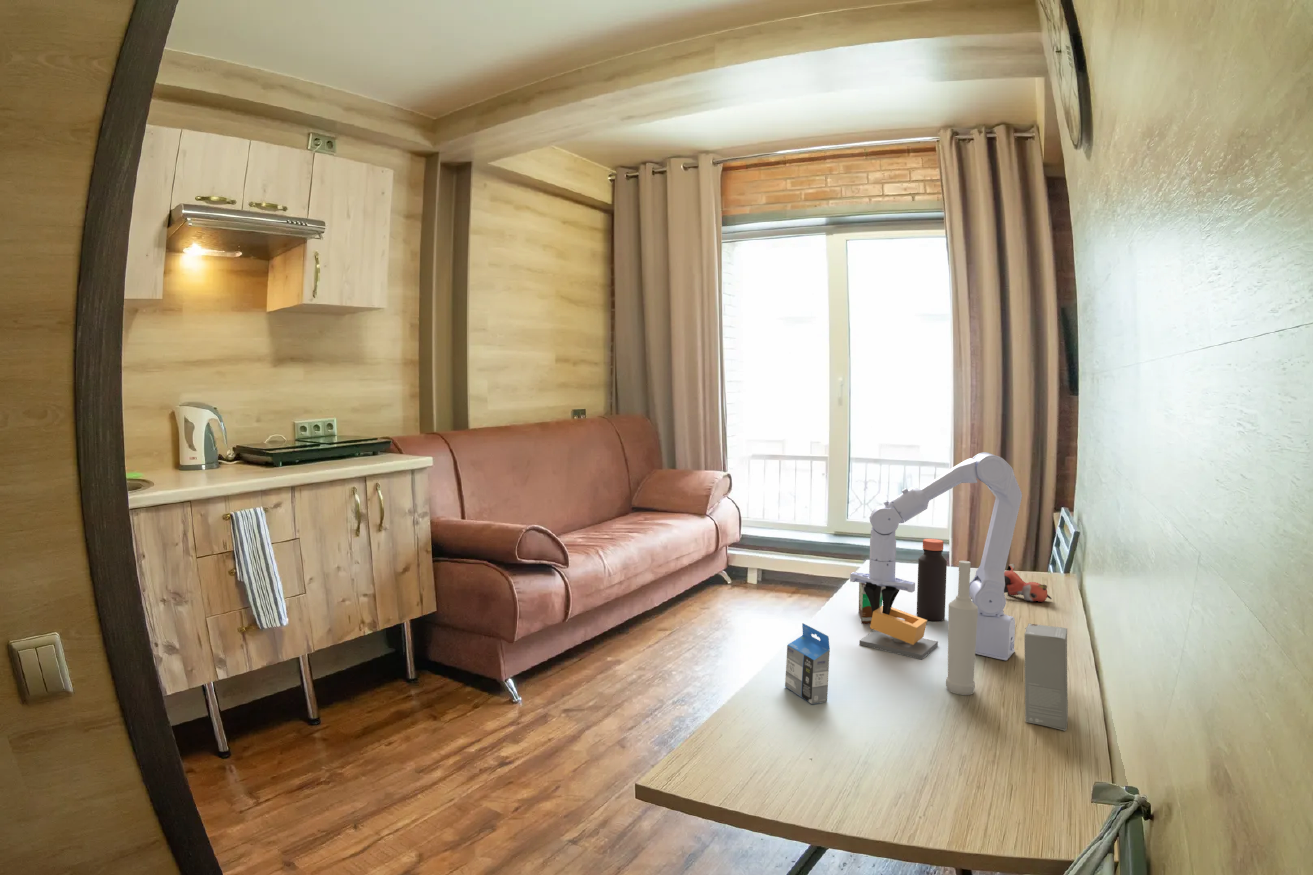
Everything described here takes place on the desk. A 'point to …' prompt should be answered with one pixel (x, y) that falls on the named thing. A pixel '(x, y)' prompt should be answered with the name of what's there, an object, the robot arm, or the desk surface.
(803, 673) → the label tape box
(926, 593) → the vinegar
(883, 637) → the plate
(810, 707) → the desk surface
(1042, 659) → the skincare box
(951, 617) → the bottle
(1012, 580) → the stuffed fox
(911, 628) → the link
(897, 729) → the desk surface
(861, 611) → the food container
